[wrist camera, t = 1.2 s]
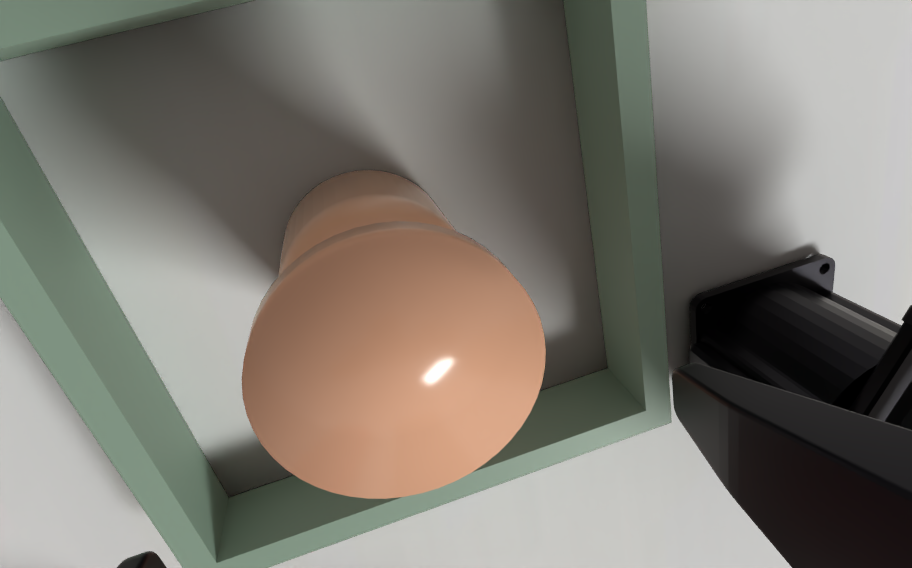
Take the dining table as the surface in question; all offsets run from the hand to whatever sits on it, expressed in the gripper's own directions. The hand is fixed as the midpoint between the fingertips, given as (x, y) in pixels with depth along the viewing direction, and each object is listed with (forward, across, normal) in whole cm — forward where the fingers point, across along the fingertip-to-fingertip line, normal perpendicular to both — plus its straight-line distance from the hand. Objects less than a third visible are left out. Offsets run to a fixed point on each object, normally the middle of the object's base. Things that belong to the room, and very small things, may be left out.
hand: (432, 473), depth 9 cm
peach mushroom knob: (+11, 0, 0) cm, 11 cm away
